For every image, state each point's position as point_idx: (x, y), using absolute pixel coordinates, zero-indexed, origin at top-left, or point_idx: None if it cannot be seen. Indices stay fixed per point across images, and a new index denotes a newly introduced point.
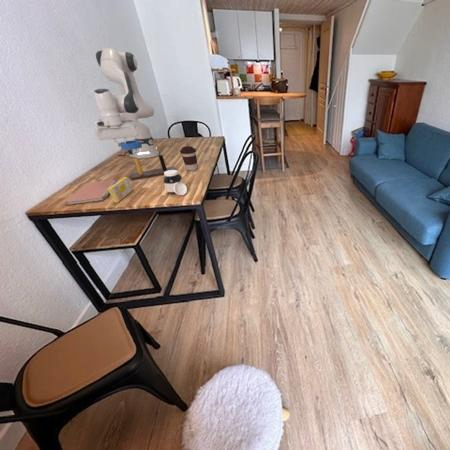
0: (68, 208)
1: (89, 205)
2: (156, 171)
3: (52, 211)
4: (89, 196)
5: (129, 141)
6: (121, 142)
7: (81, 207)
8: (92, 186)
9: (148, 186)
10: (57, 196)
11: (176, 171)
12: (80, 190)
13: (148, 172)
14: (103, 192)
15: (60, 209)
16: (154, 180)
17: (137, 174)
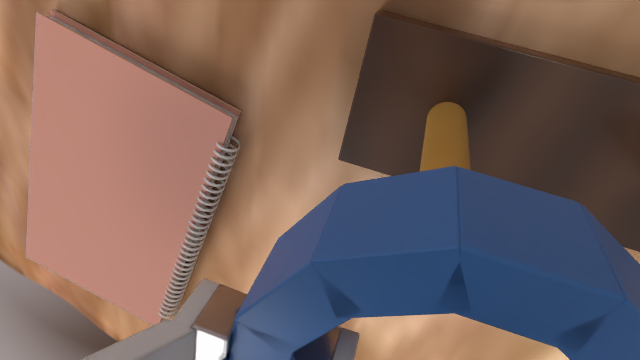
0: (54, 281)
1: (122, 315)
2: (589, 165)
3: (7, 262)
4: (107, 275)
5: (484, 320)
6: (272, 309)
7: (97, 309)
8: (97, 137)
9: (384, 333)
10: None
11: None
12: (46, 153)
13: (517, 132)
14: (162, 280)
15: (28, 266)
16: None
17: (413, 107)
